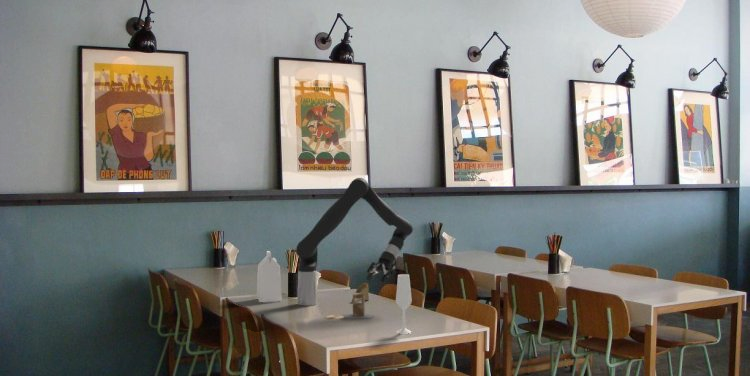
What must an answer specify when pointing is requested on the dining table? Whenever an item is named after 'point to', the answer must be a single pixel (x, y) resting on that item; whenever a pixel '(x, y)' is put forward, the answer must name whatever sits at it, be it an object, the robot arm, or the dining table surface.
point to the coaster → (333, 317)
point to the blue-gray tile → (350, 315)
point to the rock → (363, 290)
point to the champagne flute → (403, 298)
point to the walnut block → (358, 304)
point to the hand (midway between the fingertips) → (374, 281)
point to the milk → (269, 280)
